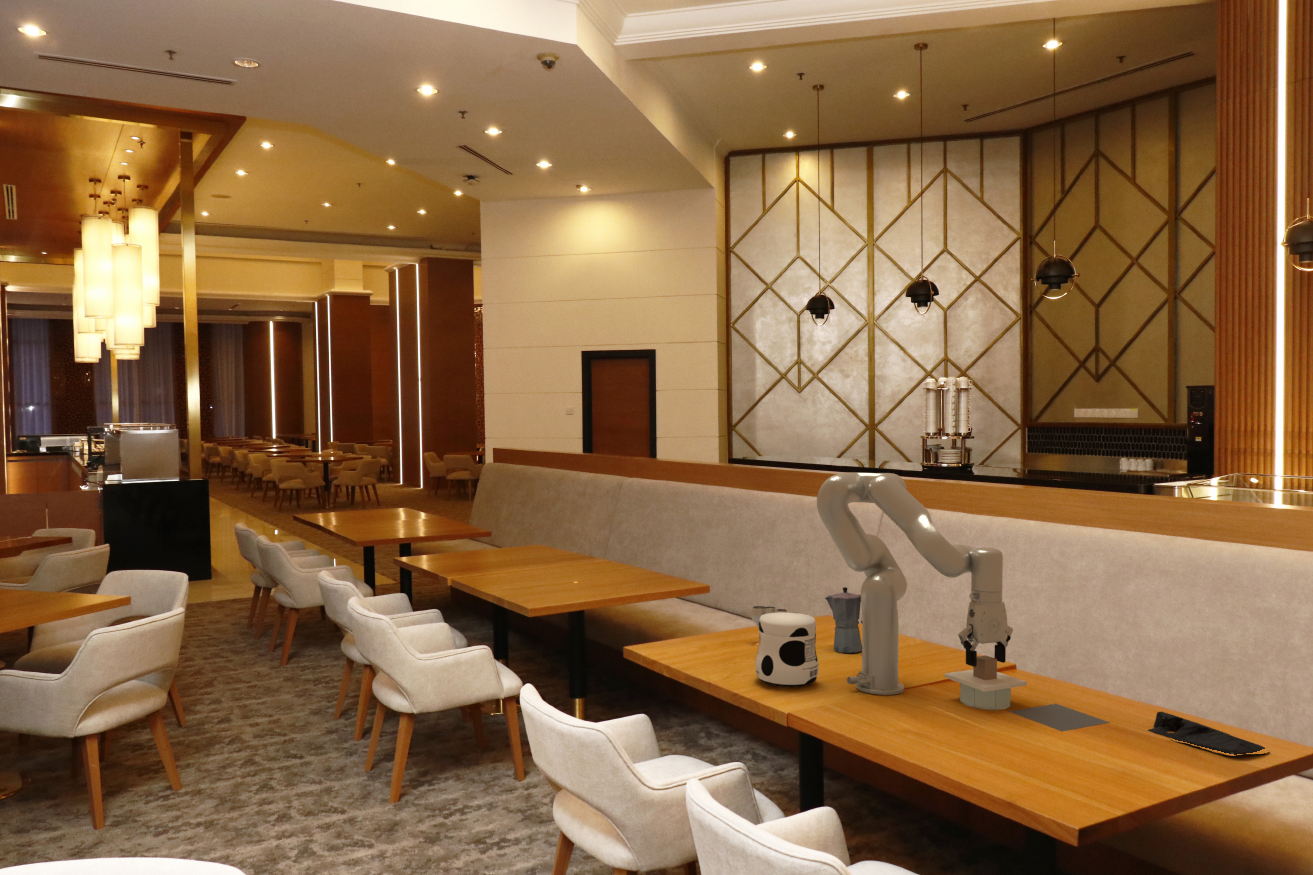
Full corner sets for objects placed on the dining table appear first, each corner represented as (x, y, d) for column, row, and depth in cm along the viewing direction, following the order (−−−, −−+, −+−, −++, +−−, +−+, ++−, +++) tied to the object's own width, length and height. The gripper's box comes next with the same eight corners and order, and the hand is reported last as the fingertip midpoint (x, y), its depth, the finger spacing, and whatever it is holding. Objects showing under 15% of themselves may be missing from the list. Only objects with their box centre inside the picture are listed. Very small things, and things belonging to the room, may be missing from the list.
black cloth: (1229, 764, 196) (1229, 742, 196) (1139, 732, 216) (1140, 712, 216) (1277, 755, 202) (1277, 734, 202) (1186, 724, 222) (1186, 705, 222)
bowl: (984, 714, 227) (985, 690, 227) (950, 700, 238) (950, 677, 238) (1020, 708, 232) (1021, 684, 232) (985, 695, 243) (985, 672, 243)
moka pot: (823, 645, 296) (824, 583, 296) (872, 647, 294) (873, 585, 294) (824, 653, 287) (825, 589, 287) (875, 655, 285) (876, 590, 284)
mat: (1061, 733, 213) (1061, 731, 213) (1009, 713, 228) (1009, 711, 228) (1110, 724, 220) (1110, 722, 220) (1055, 705, 235) (1055, 703, 235)
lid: (984, 691, 226) (984, 667, 226) (944, 677, 239) (944, 654, 238) (1026, 685, 232) (1026, 661, 232) (985, 671, 244) (985, 649, 244)
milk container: (752, 673, 263) (753, 610, 262) (813, 674, 262) (814, 611, 262) (757, 691, 245) (758, 624, 245) (822, 692, 245) (823, 625, 245)
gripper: (971, 601, 228) (970, 670, 228) (1023, 596, 235) (1022, 663, 235) (949, 596, 235) (949, 663, 235) (1000, 591, 242) (999, 656, 242)
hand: (985, 663), depth 235 cm, fingers open, 9 cm apart
